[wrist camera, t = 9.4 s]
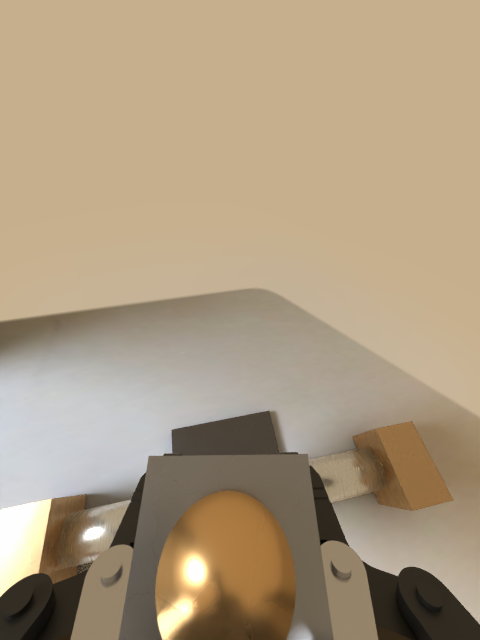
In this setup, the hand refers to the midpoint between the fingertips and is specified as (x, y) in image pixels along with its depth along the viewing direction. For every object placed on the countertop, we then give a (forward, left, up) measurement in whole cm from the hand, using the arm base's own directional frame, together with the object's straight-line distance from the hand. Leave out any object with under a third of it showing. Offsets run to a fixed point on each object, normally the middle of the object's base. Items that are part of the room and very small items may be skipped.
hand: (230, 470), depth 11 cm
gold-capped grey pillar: (0, -2, -4) cm, 5 cm away
